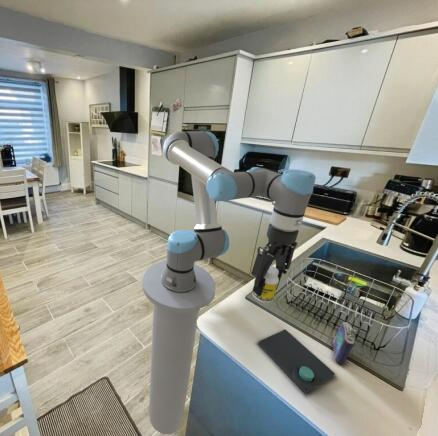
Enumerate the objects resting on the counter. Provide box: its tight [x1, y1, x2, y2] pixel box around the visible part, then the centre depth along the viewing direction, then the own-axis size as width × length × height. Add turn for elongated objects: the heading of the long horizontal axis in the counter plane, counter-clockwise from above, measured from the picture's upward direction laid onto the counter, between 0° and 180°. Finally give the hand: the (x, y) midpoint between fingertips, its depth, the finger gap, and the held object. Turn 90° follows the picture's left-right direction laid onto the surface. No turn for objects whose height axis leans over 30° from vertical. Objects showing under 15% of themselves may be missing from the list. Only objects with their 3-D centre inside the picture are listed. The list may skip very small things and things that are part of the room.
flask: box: [332, 321, 357, 366], centre depth 72 cm, size 9×3×11 cm, turn 148°
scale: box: [257, 329, 336, 395], centre depth 71 cm, size 16×13×3 cm
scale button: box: [299, 366, 314, 382], centre depth 65 cm, size 3×3×2 cm
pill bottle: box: [251, 265, 280, 304], centre depth 76 cm, size 6×6×11 cm
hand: (264, 290), depth 77 cm, fingers closed on pill bottle, 6 cm apart
